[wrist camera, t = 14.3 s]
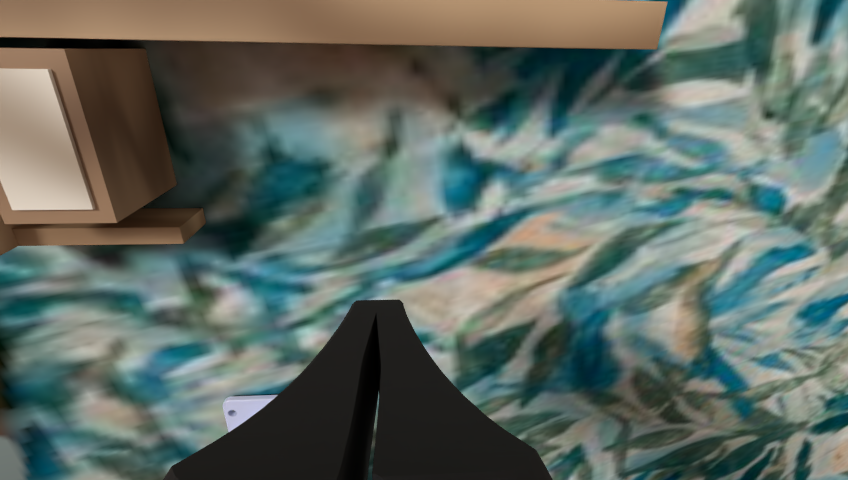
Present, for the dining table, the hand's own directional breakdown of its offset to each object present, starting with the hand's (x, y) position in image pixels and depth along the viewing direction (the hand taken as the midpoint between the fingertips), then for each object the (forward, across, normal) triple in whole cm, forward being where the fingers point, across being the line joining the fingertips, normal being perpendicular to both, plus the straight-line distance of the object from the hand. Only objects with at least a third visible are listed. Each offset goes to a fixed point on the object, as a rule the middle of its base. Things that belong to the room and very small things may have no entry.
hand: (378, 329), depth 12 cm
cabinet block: (+10, +12, -4) cm, 16 cm away
